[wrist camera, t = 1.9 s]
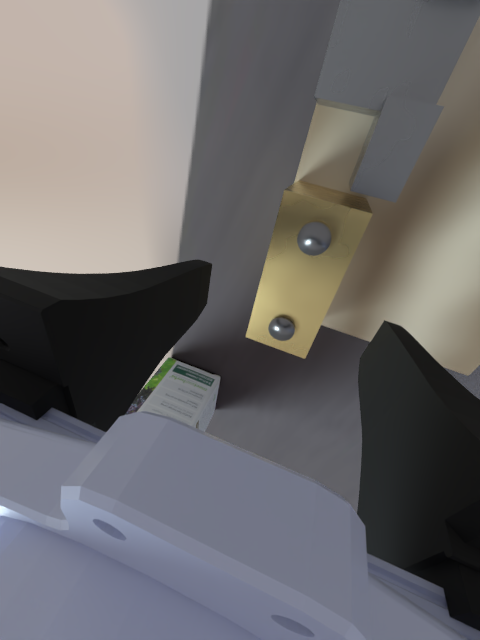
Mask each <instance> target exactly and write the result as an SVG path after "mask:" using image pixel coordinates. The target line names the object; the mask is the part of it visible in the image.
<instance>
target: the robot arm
mask: <svg viewBox="0 0 480 640" xmlns="http://www.w3.org/2000/svg"><path fill="white" fill-rule="evenodd" d="M211 269H212V264H211V263H208V262H205V261H202V260H191V261H186V262H181V263H176V264H172V265H167V266H162V267H157V268H151V269H145V270H139V271H132V272H122V273H109V274H68V273H51V272H39V271H30V270H22V269H13V268H5V267H0V640H480V400H479V399H478V398H477V397H475V396H474V395H473V394H472V393H470V392H469V391H468V390H467V389H466V388H465V387H464V386H462V385H461V384H460V383H459V382H458V381H457V380H456V379H455V378H454V377H453V376H452V375H451V374H449V373H448V372H447V371H446V370H445V369H444V368H443V367H442V366H441V365H440V364H439V363H438V362H437V361H436V360H435V359H434V358H433V357H432V356H431V355H430V354H429V353H428V352H427V351H426V350H425V348H424V347H423V346H422V345H421V344H420V343H419V342H418V341H417V340H416V339H415V338H414V337H413V336H412V335H411V334H410V333H409V332H408V331H407V330H405V329H404V328H403V327H402V326H400V325H397V324H394V323H391V322H388V321H385V320H384V322H383V323H382V325H381V326H380V328H379V329H378V331H377V333H376V334H375V336H374V337H373V339H372V340H371V342H370V344H369V345H368V347H367V348H366V350H365V351H364V353H363V355H362V356H361V358H360V364H359V375H358V384H359V398H360V411H361V423H362V461H361V477H360V491H359V501H358V511H357V514H356V512H355V511H354V509H353V508H352V506H351V505H350V504H349V503H348V501H347V500H346V499H345V498H344V497H342V496H341V495H339V494H337V493H336V492H334V491H332V490H331V489H329V488H327V487H326V486H324V485H323V484H321V483H319V482H318V481H316V480H314V479H312V478H310V477H307V476H305V475H303V474H300V473H298V472H296V471H293V470H291V469H289V468H287V467H284V466H282V465H280V464H277V463H275V462H273V461H270V460H268V459H266V458H264V457H261V456H259V455H257V454H254V453H252V452H250V451H247V450H245V449H243V448H240V447H238V446H236V445H234V444H231V443H229V442H227V441H224V440H222V439H220V438H217V437H215V436H213V435H210V434H208V433H206V432H204V431H201V430H199V429H197V428H194V427H192V426H190V425H187V424H185V423H183V422H180V421H178V420H176V419H174V418H171V417H167V416H163V415H159V414H155V413H151V412H147V411H142V412H136V413H132V414H128V415H125V414H126V413H127V411H128V409H129V408H130V406H131V405H132V403H133V401H134V400H135V398H136V397H137V395H138V394H139V392H140V391H141V389H142V388H143V386H144V384H145V383H146V381H147V380H148V378H149V377H150V375H151V374H152V373H153V371H154V370H155V368H156V367H157V365H158V364H159V363H160V361H161V360H162V359H163V358H164V356H165V355H166V354H167V353H168V351H169V350H170V349H171V348H172V347H173V346H174V345H175V344H176V343H177V341H178V340H179V339H180V338H181V337H182V336H183V335H184V334H185V333H186V331H187V330H188V329H189V328H190V327H191V326H192V325H193V323H194V322H195V321H196V320H197V318H198V317H199V315H200V314H201V312H202V311H203V309H204V307H205V306H206V304H207V298H208V291H209V284H210V276H211Z"/></svg>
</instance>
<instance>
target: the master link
mask: <svg viewBox="0 0 480 640" xmlns="http://www.w3.org/2000/svg"><path fill="white" fill-rule="evenodd" d="M372 215H373V213H372V211H371V208H370V206H369V204H368V201H367V199H366V198H364V197H360V196H356V195H353V194H349V193H345V192H341V191H337V190H334V189H330V188H326V187H322V186H318V185H315V184H311V183H307V182H303V181H297V182H296V183H294V184H293V185H291V186H290V187H288V188H287V189H285V190H284V194H283V197H282V201H281V205H280V209H279V212H278V216H277V220H276V224H275V228H274V231H273V235H272V239H271V243H270V246H269V250H268V254H267V258H266V262H265V265H264V269H263V273H262V277H261V280H260V284H259V288H258V292H257V295H256V299H255V303H254V307H253V311H252V314H251V318H250V322H249V326H248V329H247V333H246V337H247V338H249V339H252V340H255V341H258V342H260V343H263V344H266V345H268V346H271V347H274V348H277V349H279V350H282V351H285V352H287V353H290V354H293V355H296V356H298V357H301V358H304V359H305V358H306V356H307V354H308V352H309V349H310V347H311V345H312V343H313V341H314V339H315V337H316V334H317V332H318V330H319V328H320V326H321V324H322V322H323V319H324V317H325V315H326V313H327V311H328V309H329V307H330V305H331V302H332V300H333V298H334V296H335V294H336V292H337V290H338V287H339V285H340V283H341V281H342V279H343V277H344V275H345V272H346V270H347V268H348V266H349V264H350V262H351V260H352V258H353V255H354V253H355V251H356V249H357V247H358V245H359V243H360V240H361V238H362V236H363V234H364V232H365V230H366V228H367V225H368V223H369V221H370V219H371V217H372Z"/></svg>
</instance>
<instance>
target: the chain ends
mask: <svg viewBox="0 0 480 640" xmlns="http://www.w3.org/2000/svg"><path fill="white" fill-rule="evenodd" d="M479 16H480V0H340V4H339V8H338V11H337V15H336V19H335V22H334V26H333V30H332V33H331V37H330V41H329V44H328V48H327V51H326V55H325V59H324V62H323V66H322V70H321V73H320V77H319V81H318V84H317V88H316V92H315V95H314V98H315V100H316V101H317V103H318V105H323V106H327V107H332V108H337V109H341V110H346V111H351V112H355V113H360V114H365V115H369V116H374V119H373V122H372V125H371V127H370V130H369V132H368V135H367V137H366V140H365V143H364V145H363V148H362V150H361V153H360V155H359V158H358V160H357V163H356V166H355V168H354V171H353V173H352V176H351V178H350V181H349V186H350V191H353V192H357V193H360V194H364V195H368V196H372V197H376V198H380V199H383V200H387V201H391V202H395V203H396V201H397V199H398V197H399V195H400V193H401V191H402V189H403V187H404V185H405V183H406V181H407V179H408V177H409V175H410V173H411V171H412V169H413V167H414V166H415V164H416V162H417V160H418V158H419V156H420V154H421V152H422V150H423V148H424V146H425V144H426V142H427V140H428V138H429V136H430V134H431V132H432V130H433V128H434V126H435V124H436V122H437V120H438V118H439V116H440V114H441V112H442V110H443V108H444V106H440V105H436V104H437V102H438V100H439V98H440V96H441V94H442V92H443V90H444V88H445V86H446V84H447V82H448V80H449V78H450V76H451V74H452V71H453V69H454V67H455V65H456V63H457V61H458V59H459V57H460V55H461V53H462V51H463V49H464V47H465V45H466V43H467V41H468V39H469V37H470V35H471V33H472V31H473V29H474V26H475V24H476V22H477V20H478V18H479Z"/></svg>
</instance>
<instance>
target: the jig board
mask: <svg viewBox="0 0 480 640" xmlns="http://www.w3.org/2000/svg"><path fill="white" fill-rule="evenodd" d="M436 105H440V106H444V108H443V110H442V112H441V114H440V116H439V118H438V120H437V122H436V124H435V126H434V128H433V130H432V132H431V134H430V136H429V138H428V140H427V142H426V144H425V146H424V148H423V150H422V152H421V154H420V156H419V158H418V160H417V162H416V164H415V166H414V167H413V169H412V171H411V173H410V175H409V177H408V179H407V181H406V183H405V185H404V187H403V189H402V191H401V193H400V195H399V197H398V199H397V201H396V203H395V202H391V201H387V200H383V199H380V198H376V197H372V196H368V195H364V194H360V193H357V192H353V191H350V186H349V181H350V178H351V176H352V173H353V171H354V168H355V166H356V163H357V160H358V158H359V155H360V153H361V150H362V148H363V145H364V143H365V140H366V137H367V135H368V132H369V130H370V127H371V125H372V122H373V119H374V116H369V115H365V114H360V113H355V112H351V111H346V110H341V109H337V108H332V107H327V106H323V105H318V103H317V104H316V107H315V111H314V114H313V118H312V121H311V125H310V128H309V132H308V136H307V139H306V143H305V146H304V150H303V153H302V157H301V160H300V164H299V168H298V171H297V175H296V178H295V182H294V183H296V182H297V181H303V182H307V183H311V184H315V185H318V186H322V187H326V188H330V189H334V190H337V191H341V192H345V193H349V194H353V195H356V196H360V197H364V198H366V199H367V201H368V204H369V206H370V208H371V211H372V213H373V215H372V217H371V219H370V221H369V223H368V225H367V228H366V230H365V232H364V234H363V236H362V238H361V240H360V243H359V245H358V247H357V249H356V251H355V253H354V255H353V258H352V260H351V262H350V264H349V266H348V268H347V270H346V272H345V275H344V277H343V279H342V281H341V283H340V285H339V287H338V290H337V292H336V294H335V296H334V298H333V300H332V302H331V305H330V307H329V309H328V311H327V313H326V315H325V317H324V319H323V322H322V324H321V325H323V326H325V327H328V328H331V329H334V330H337V331H340V332H343V333H346V334H349V335H352V336H354V337H357V338H360V339H363V340H366V341H369V342H371V340H372V339H373V337H374V336H375V334H376V333H377V331H378V329H379V328H380V326H381V325H382V323H383V322H384V320H385V321H388V322H391V323H394V324H397V325H400V326H402V327H403V328H404V329H405V330H407V331H408V332H409V333H410V334H411V335H412V336H413V337H414V338H415V339H416V340H417V341H418V342H419V343H420V344H421V345H422V346H423V347H424V348H425V350H426V351H427V352H428V353H429V354H430V355H431V356H432V357H433V358H434V359H435V360H436V361H437V362H438V363H439V364H440V365H441V366H442V367H444V368H447V369H450V370H453V371H456V372H459V373H462V374H465V375H468V376H469V375H470V374H471V373H472V372H473V371H474V370H475V369H476V368H477V367H478V366H479V365H480V16H479V18H478V20H477V22H476V24H475V26H474V29H473V31H472V33H471V35H470V37H469V39H468V41H467V43H466V45H465V47H464V49H463V51H462V53H461V55H460V57H459V59H458V61H457V63H456V65H455V67H454V69H453V71H452V74H451V76H450V78H449V80H448V82H447V84H446V86H445V88H444V90H443V92H442V94H441V96H440V98H439V100H438V102H437V104H436Z"/></svg>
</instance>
